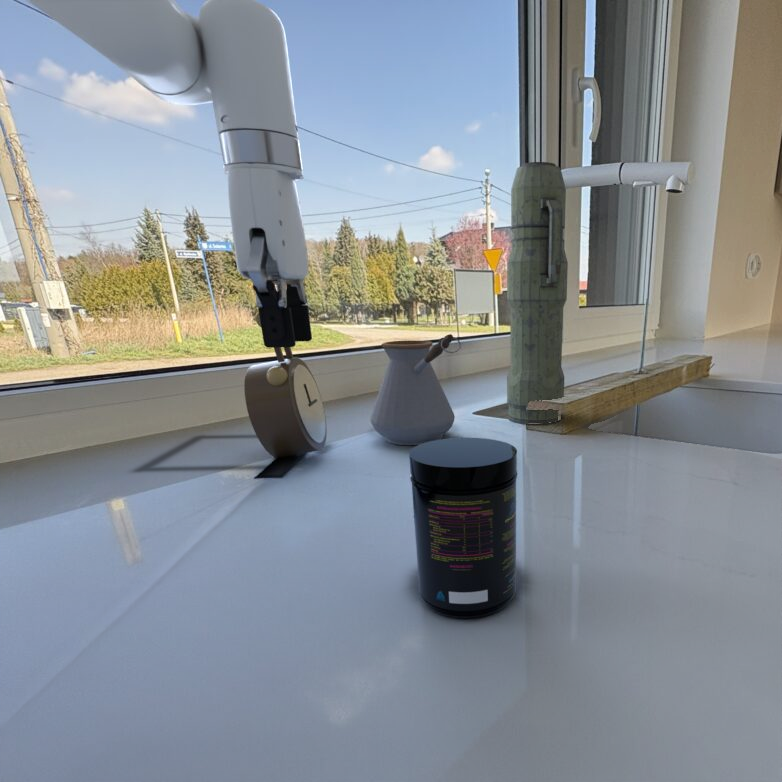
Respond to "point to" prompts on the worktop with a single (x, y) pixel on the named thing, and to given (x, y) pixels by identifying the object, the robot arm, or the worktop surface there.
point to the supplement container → (465, 524)
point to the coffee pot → (412, 394)
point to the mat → (279, 466)
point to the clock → (285, 405)
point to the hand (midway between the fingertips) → (289, 342)
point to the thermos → (536, 290)
